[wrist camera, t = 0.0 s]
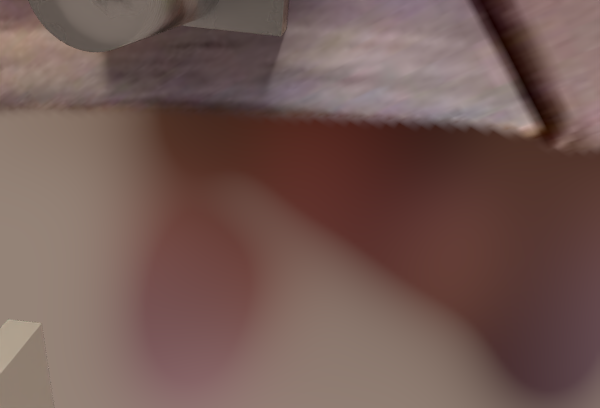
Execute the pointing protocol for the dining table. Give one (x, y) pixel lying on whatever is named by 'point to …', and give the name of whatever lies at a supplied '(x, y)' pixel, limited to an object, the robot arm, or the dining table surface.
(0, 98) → the dining table surface
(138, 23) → the gray post on base
